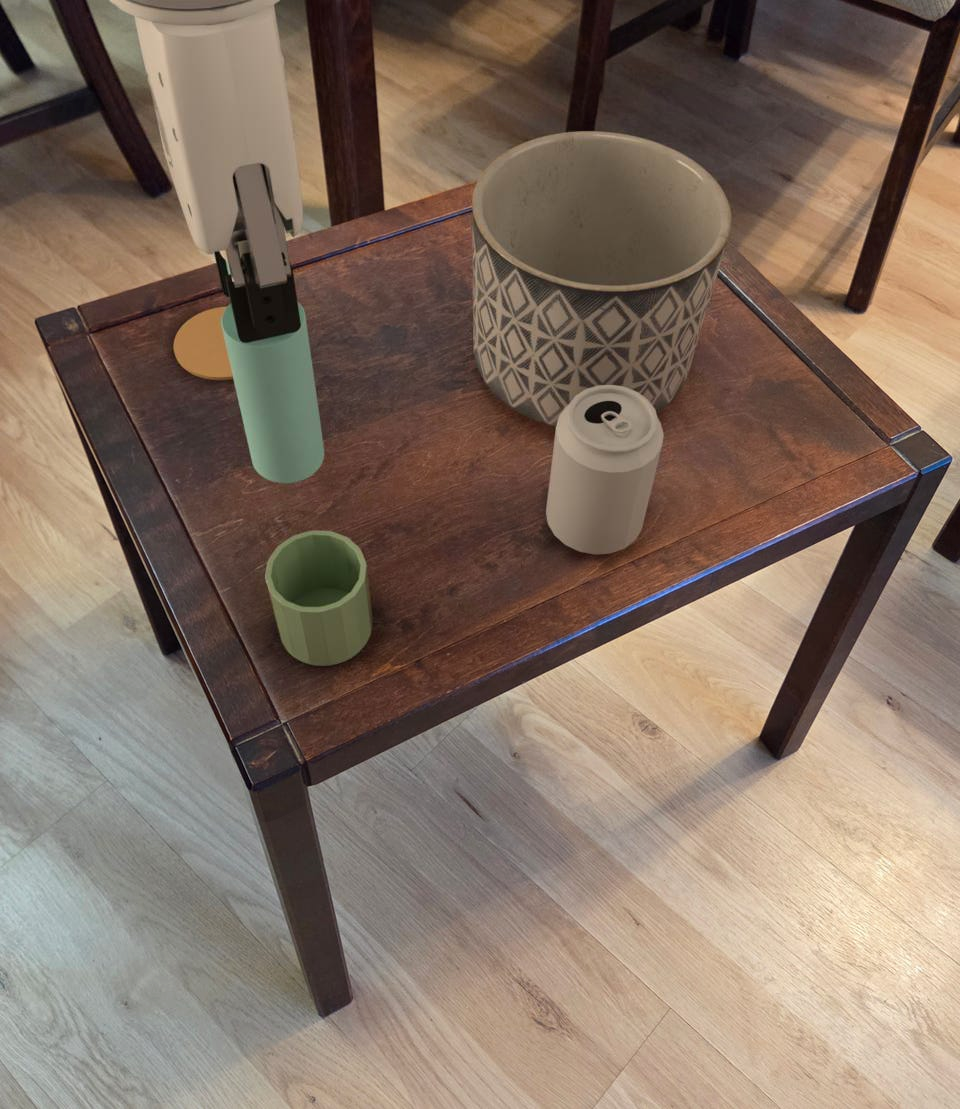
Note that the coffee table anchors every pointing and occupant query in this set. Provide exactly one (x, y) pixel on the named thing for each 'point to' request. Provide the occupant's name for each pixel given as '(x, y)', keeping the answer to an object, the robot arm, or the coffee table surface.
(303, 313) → the bottle
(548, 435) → the coffee table surface
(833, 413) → the coffee table surface
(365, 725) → the coffee table surface
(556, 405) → the planter
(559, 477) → the can
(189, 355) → the coaster
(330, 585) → the holder
